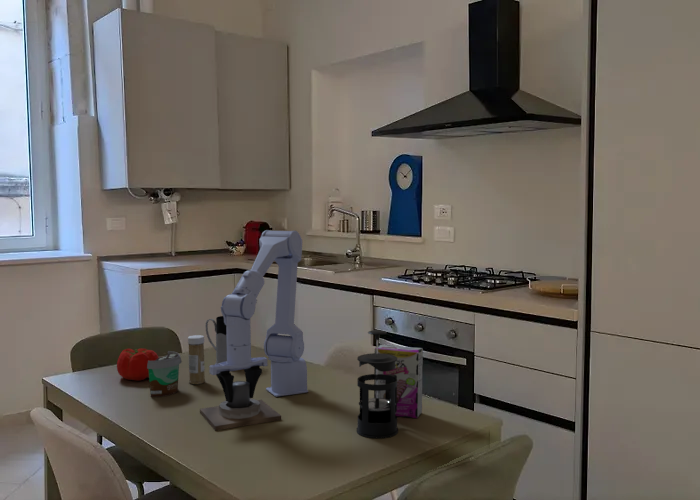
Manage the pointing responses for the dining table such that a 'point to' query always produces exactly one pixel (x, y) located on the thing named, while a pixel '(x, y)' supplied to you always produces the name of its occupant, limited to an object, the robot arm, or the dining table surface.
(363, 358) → the french press
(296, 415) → the dining table surface
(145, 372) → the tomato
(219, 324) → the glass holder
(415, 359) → the candy bar box
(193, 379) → the sprinkles bottle
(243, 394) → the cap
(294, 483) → the dining table surface
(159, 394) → the food container
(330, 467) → the dining table surface
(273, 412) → the collar
